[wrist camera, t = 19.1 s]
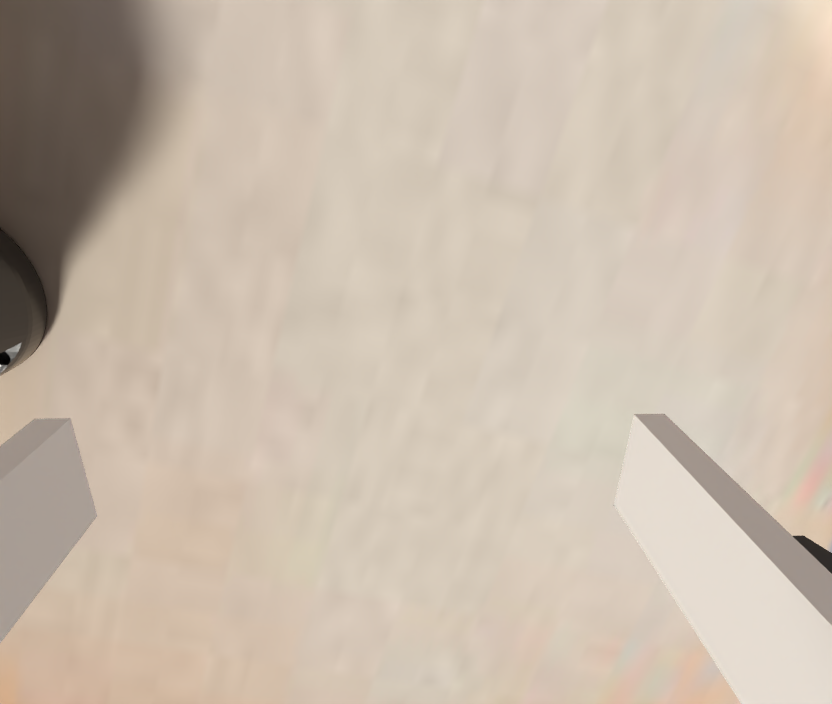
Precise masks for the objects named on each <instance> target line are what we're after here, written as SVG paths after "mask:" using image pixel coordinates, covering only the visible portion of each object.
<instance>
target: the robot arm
mask: <svg viewBox="0 0 832 704" xmlns="http://www.w3.org/2000/svg"><path fill="white" fill-rule="evenodd" d="M46 320H47V308H46V300H45V295H44V292H43V288H42V285H41V283H40V280H39V278H38V276H37V274H36V272H35V270H34V268H33V266H32V265H31V263H30V261H29V260H28V259H27V257H26V256H25V254H24V253H23V252H22V251H21V249H20V248H19V247H18V246H17V245H16V244H15V243H14V241H13V240H12V239H11V238H10V237H9V236H8V235H6V234H5V233H4V232H3V231H2V230H1V229H0V376H1V375H3V374H4V373H6V372H8V371H9V370H11V369H13V368H15V367H16V366H18V365H19V364H21V363H23V362H24V361H25V360H26V359H28V358H29V357H30V356H31V355H32V353H33V352H34V351H35V350H36V348H37V347H38V345H39V343H40V342H41V339H42V337H43V334H44V331H45V327H46ZM614 506H615V508H616V510H617V511H618V513H619V514H620V516H621V517H622V519H623V520H624V522H625V524H626V525H627V527H628V528H629V530H630V531H631V533H632V534H633V536H634V538H635V539H636V541H637V542H638V544H639V545H640V547H641V548H642V550H643V552H644V553H645V555H646V556H647V558H648V559H649V561H650V563H651V564H652V566H653V567H654V569H655V570H656V572H657V573H658V575H659V577H660V578H661V580H662V581H663V583H664V584H665V586H666V587H667V589H668V591H669V592H670V594H671V595H672V597H673V598H674V600H675V601H676V603H677V605H678V606H679V608H680V609H681V611H682V612H683V614H684V615H685V617H686V619H687V620H688V622H689V623H690V625H691V626H692V628H693V629H694V631H695V633H696V634H697V636H698V637H699V639H700V640H701V642H702V643H703V645H704V647H705V648H706V650H707V651H708V653H709V654H710V656H711V658H712V659H713V661H714V662H715V664H716V665H717V667H718V668H719V670H720V672H721V673H722V675H723V676H724V678H725V679H726V681H727V682H728V684H729V686H730V687H731V689H732V690H733V692H734V693H735V695H736V696H737V698H738V700H739V701H740V703H741V704H832V553H831V552H829V551H827V550H826V549H824V548H823V547H821V546H819V545H818V544H816V543H814V542H813V541H811V540H810V539H808V538H806V537H805V536H792V535H791V534H790V533H788V532H787V531H786V530H785V529H784V528H783V527H782V526H781V525H780V524H779V523H778V522H777V521H776V520H775V519H774V518H773V517H772V516H771V515H770V514H769V513H768V512H767V511H765V510H764V509H763V508H762V507H761V506H760V505H759V504H758V503H757V502H756V501H755V500H754V499H753V498H752V497H751V496H750V495H749V494H748V493H747V492H746V491H745V490H743V489H742V488H741V487H740V486H739V485H738V484H737V483H736V482H735V481H734V480H733V479H732V478H731V477H730V476H729V475H728V474H727V473H726V472H725V471H724V470H723V469H722V468H720V467H719V466H718V465H717V464H716V463H715V462H714V461H713V460H712V459H711V458H710V457H709V456H708V455H707V454H706V453H705V452H704V451H703V450H702V449H701V448H700V447H699V446H697V445H696V444H695V443H694V442H693V441H692V440H691V439H690V438H689V437H688V436H687V435H686V434H685V433H684V432H683V431H682V430H681V429H680V428H679V427H678V426H677V425H675V424H674V423H673V422H672V421H671V420H670V419H669V418H668V417H667V416H666V415H665V414H634V417H633V422H632V426H631V431H630V435H629V440H628V444H627V448H626V453H625V457H624V462H623V466H622V471H621V475H620V479H619V484H618V488H617V493H616V497H615V502H614ZM96 517H97V513H96V510H95V506H94V502H93V499H92V495H91V491H90V488H89V484H88V480H87V477H86V473H85V469H84V466H83V462H82V459H81V455H80V451H79V448H78V444H77V440H76V437H75V433H74V429H73V426H72V422H71V418H69V419H34V420H33V421H31V422H30V423H29V424H28V425H26V426H25V427H24V428H22V429H21V430H20V431H19V432H17V433H16V434H15V435H14V436H12V437H11V438H10V439H9V440H7V441H6V442H5V443H4V444H2V445H1V446H0V643H1V642H2V640H3V639H4V638H5V636H6V635H7V634H8V632H9V631H10V630H11V628H12V627H13V626H14V624H15V623H16V622H17V621H18V619H19V618H20V617H21V615H22V614H23V613H24V611H25V610H26V609H27V607H28V606H29V605H30V603H31V602H32V601H33V600H34V598H35V597H36V596H37V594H38V593H39V592H40V590H41V589H42V588H43V586H44V585H45V584H46V582H47V581H48V580H49V579H50V577H51V576H52V575H53V573H54V572H55V571H56V569H57V568H58V567H59V565H60V564H61V563H62V562H63V560H64V559H65V558H66V556H67V555H68V554H69V552H70V551H71V550H72V548H73V547H74V546H75V544H76V543H77V542H78V541H79V539H80V538H81V537H82V535H83V534H84V533H85V531H86V530H87V529H88V527H89V526H90V525H91V523H92V522H93V521H94V520H95V518H96Z"/></svg>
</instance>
